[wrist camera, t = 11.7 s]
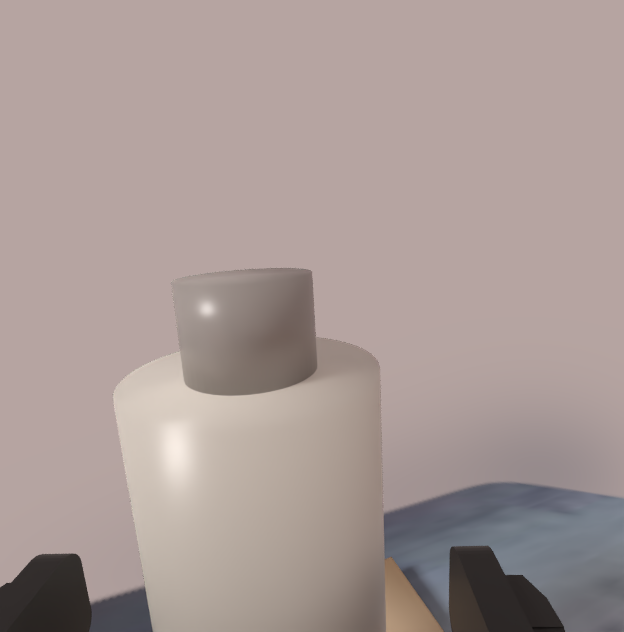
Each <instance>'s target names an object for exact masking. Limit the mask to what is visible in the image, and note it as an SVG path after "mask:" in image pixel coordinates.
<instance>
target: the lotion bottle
mask: <svg viewBox="0 0 624 632" xmlns="http://www.w3.org/2000/svg"><path fill="white" fill-rule="evenodd" d="M171 285H172V293H173V301H174V308H175V316H176V323H177V331H178V338H179V346H180V351H179V352H175V353H173V354H169V355H167V356H164V357H161V358H159V359H156V360H154V361H152V362H150V363H148V364H145V365H143V366H141V367H140V368H138V369H136V370H134V371H133V372H132V373H130V374H129V375H127V376H126V377H125V378H124V379H123V380H122V381H121V382H120V383H119V384H118V386H117V387H116V388H115V391H114V394H113V403H114V409H115V414H116V420H117V426H118V432H119V437H120V443H121V449H122V455H123V461H124V467H125V473H126V478H127V484H128V490H129V495H130V501H131V507H132V513H133V519H134V525H135V531H136V536H137V542H138V548H139V554H140V560H141V565H142V571H143V577H144V583H145V589H146V595H147V601H148V606H149V612H150V618H151V624H152V630H153V632H386V602H385V559H384V517H383V476H382V475H383V474H382V432H381V390H380V366H379V363H378V361H377V360H376V358H375V357H374V356H373V355H372V354H370V353H369V352H368V351H366V350H364V349H362V348H360V347H358V346H355V345H352V344H349V343H346V342H341V341H337V340H332V339H326V338H318V337H316V332H315V315H314V298H313V280H312V271H310V270H306V269H295V268H271V269H248V270H234V271H225V272H215V273H207V274H200V275H193V276H188V277H183V278H179V279H176V280H173V281H172V282H171Z"/></svg>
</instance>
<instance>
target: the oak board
mask: <svg viewBox="0 0 624 632" xmlns="http://www.w3.org/2000/svg"><path fill="white" fill-rule="evenodd" d="M385 602H386V632H444V631H443V629H442V628H441V627H440V625H439V624H438V622H437V621H436V619H435V618H434V617H433V615H432V614H431V612H430V611H429V610H428V608H427V607H426V605H425V604H424V602H423V601H422V600H421V598H420V597H419V595H418V594H417V593H416V591H415V590H414V588H413V587H412V585H411V584H410V583H409V581H408V580H407V578H406V577H405V576H404V574H403V573H402V571H401V570H400V569H399V567H398V566H397V564H396V563H395V561H394V560H393V559H392V557H390V558H387V559H385Z"/></svg>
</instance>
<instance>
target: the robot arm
mask: <svg viewBox="0 0 624 632" xmlns="http://www.w3.org/2000/svg"><path fill="white" fill-rule="evenodd" d="M449 613H450V622H451V628H452V632H565V630H564V626H563V625H562V623H561V621H560V620H559V618H558V616H557V615H556V613H555V611H554V609H553V608H552V606H551V604H550V603H549V601H548V599H547V598H546V597H545V596H544V595H543V594H542V593H541V592H540V591H539V590H538V589H536V588H535V587H534V586H533V585H532V584H531V583H530V582H529V581H528V580H527V579H526V578H525V577H524V576H523V575H505V574H504V572H503V570H502V568H501V566H500V564H499V562H498V560H497V558H496V557H495V555H494V553H493V551H492V549H491V548H490V547H489V546H458V547H451V549H450V573H449ZM90 625H91V606H90V601H89V597H88V592H87V587H86V582H85V578H84V573H83V567H82V563H81V559H80V557H79V556H78V555H77V554H42V555H38V556H36V557H35V558H34V559H32V560H31V561H30V562H29V563H28V565H27V566H26V567H25V568H24V569H23V570H22V571H21V572H20V574H19V575H18V576H17V577H16V578H15V579H14V580H13V582H11V583H6V584H5V585H3V586H2V587H1V588H0V632H89V629H90Z"/></svg>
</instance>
